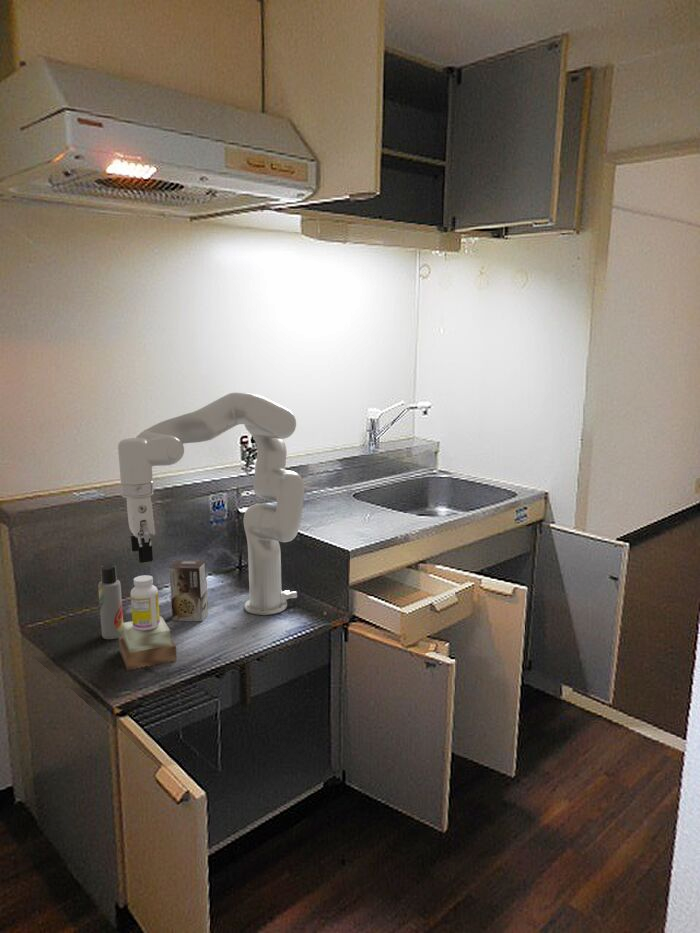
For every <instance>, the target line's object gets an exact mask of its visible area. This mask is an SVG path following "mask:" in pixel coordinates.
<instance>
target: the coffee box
mask: <svg viewBox="0 0 700 933" xmlns="http://www.w3.org/2000/svg"><path fill="white" fill-rule="evenodd" d="M206 568H207V567H206V561H205V560H175V561H174V562H173V563H172V564H171V566H169V568H168V573H169V585H170V601H171V615H172V616H171V617H172V618H171V619H172V621H174V622H176V621H177V622H178V621H179V622H180V621H181V622H203V621H204V620H205V619H206V617H207V616H209V607H208V606H209V603H208V587H207V586H208V584H207V569H206Z"/></svg>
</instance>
